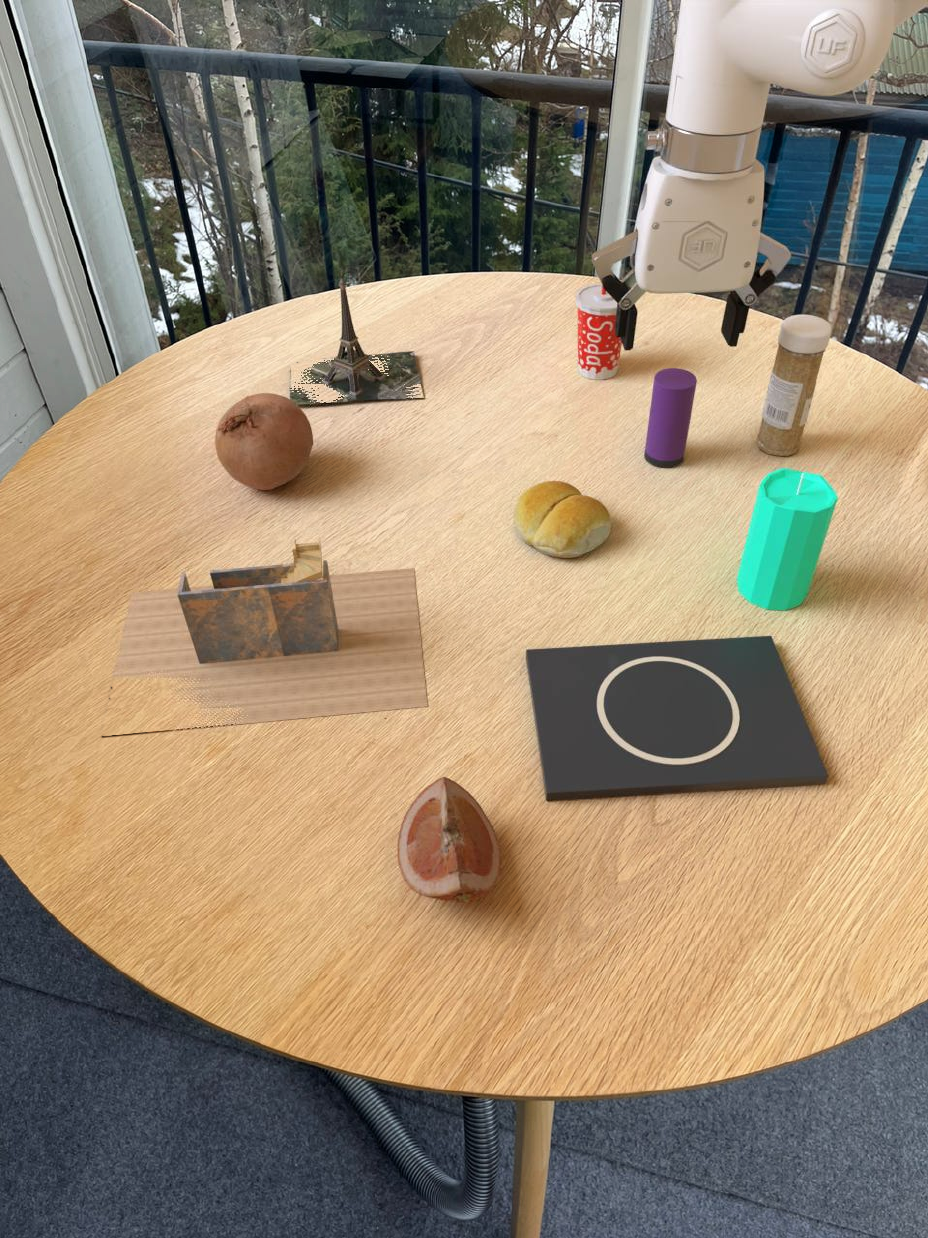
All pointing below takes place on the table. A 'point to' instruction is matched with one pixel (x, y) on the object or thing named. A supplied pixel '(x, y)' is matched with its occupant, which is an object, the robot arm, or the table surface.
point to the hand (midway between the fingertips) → (677, 341)
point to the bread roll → (560, 520)
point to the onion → (264, 440)
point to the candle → (785, 538)
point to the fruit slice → (448, 845)
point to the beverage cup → (597, 333)
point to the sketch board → (668, 719)
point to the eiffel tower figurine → (361, 369)
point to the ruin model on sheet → (283, 640)
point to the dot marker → (669, 417)
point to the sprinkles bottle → (792, 383)
